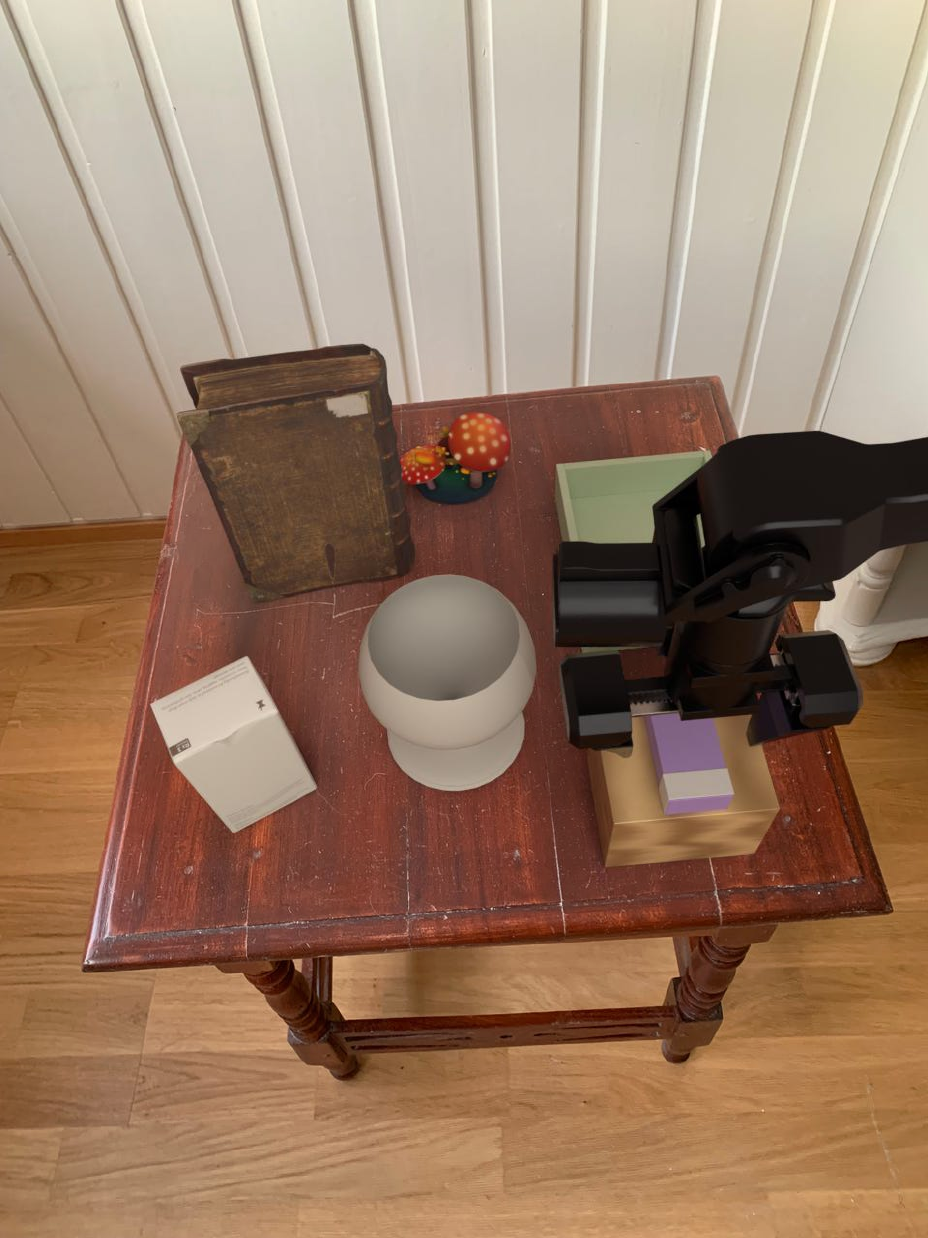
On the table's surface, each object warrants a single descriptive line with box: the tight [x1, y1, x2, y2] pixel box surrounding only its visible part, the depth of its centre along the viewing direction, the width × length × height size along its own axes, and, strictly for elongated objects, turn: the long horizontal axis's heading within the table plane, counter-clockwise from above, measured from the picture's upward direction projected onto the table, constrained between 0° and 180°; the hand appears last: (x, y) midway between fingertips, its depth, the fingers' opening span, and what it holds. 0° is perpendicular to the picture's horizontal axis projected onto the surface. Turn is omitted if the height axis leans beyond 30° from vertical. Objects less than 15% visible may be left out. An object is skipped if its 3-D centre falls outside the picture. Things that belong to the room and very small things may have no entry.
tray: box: [554, 449, 713, 653], centre depth 87 cm, size 16×20×5 cm
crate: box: [586, 715, 781, 868], centre depth 71 cm, size 12×10×9 cm
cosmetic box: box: [149, 655, 318, 834], centre depth 71 cm, size 8×6×15 cm
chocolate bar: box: [644, 702, 734, 815], centre depth 66 cm, size 5×9×2 cm, turn 4°
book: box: [176, 343, 416, 603], centre depth 81 cm, size 17×7×25 cm, turn 93°
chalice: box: [358, 574, 537, 792], centre depth 74 cm, size 14×14×15 cm
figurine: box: [399, 411, 512, 505], centre depth 94 cm, size 12×9×8 cm
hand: (687, 746), depth 66 cm, fingers open, 9 cm apart
